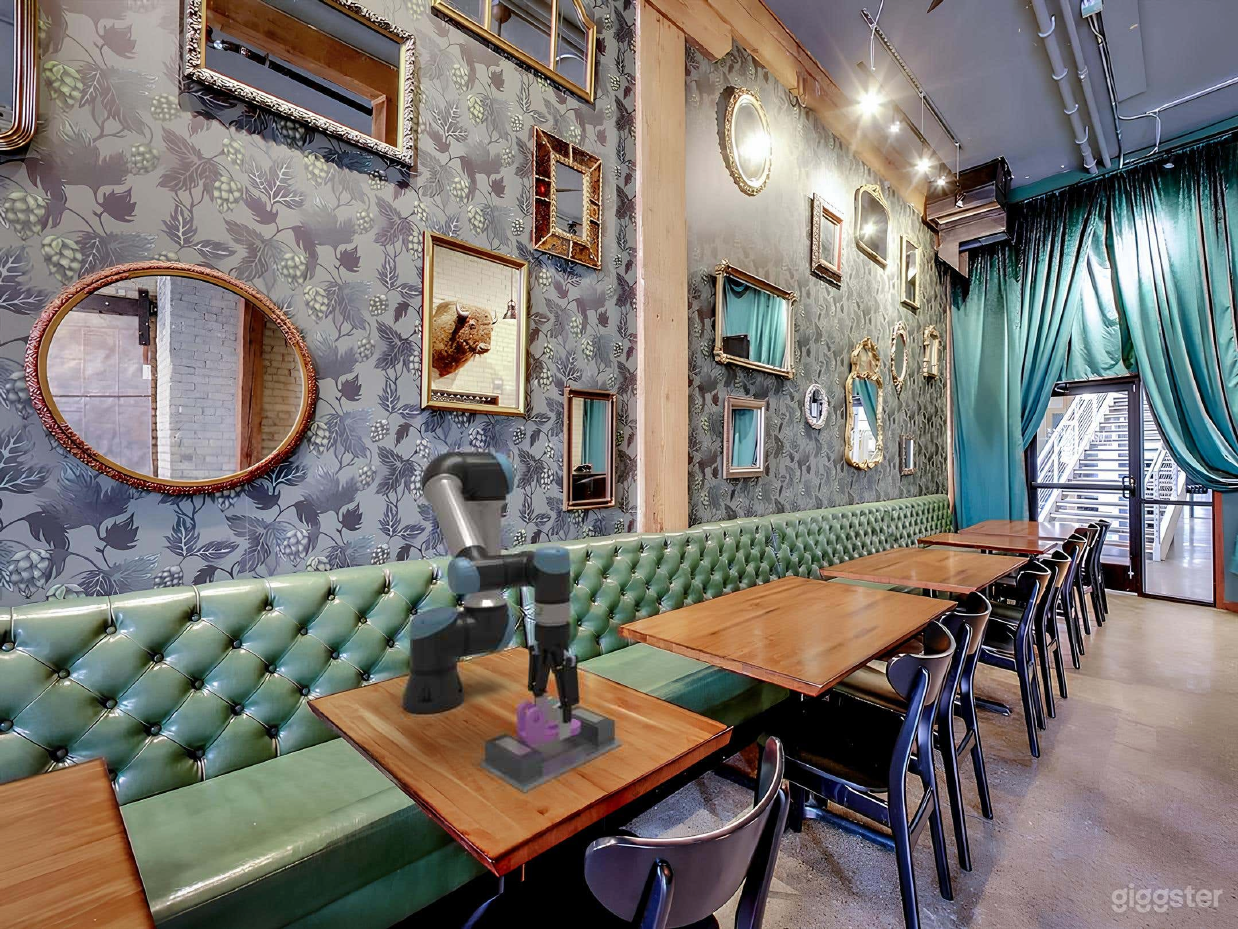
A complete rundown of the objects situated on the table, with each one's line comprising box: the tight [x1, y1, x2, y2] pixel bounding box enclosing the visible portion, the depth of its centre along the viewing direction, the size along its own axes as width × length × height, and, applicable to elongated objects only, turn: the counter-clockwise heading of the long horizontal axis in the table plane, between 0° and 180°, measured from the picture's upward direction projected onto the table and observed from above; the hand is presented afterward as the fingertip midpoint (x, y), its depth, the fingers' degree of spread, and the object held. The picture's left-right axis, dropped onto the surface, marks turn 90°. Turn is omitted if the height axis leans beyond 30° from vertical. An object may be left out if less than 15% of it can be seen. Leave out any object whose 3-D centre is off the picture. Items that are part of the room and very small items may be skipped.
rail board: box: [478, 704, 622, 794], centre depth 121 cm, size 15×26×5 cm, turn 136°
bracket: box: [516, 700, 581, 746], centre depth 121 cm, size 13×6×7 cm, turn 122°
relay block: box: [548, 696, 566, 723], centre depth 137 cm, size 5×5×5 cm
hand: (552, 732), depth 121 cm, fingers closed on bracket, 6 cm apart
